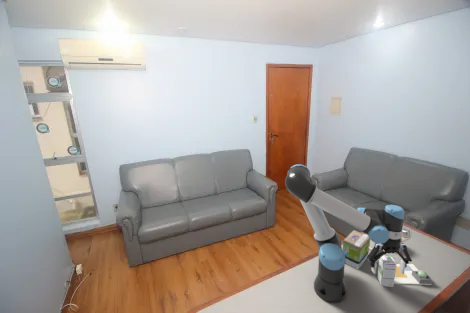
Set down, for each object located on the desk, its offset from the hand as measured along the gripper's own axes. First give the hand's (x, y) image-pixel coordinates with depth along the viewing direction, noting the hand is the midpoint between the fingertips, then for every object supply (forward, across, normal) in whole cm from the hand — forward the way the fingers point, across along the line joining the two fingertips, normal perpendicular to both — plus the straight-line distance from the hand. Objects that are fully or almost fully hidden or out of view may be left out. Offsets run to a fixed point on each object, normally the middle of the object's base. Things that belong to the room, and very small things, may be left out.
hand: (387, 272), depth 113 cm
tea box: (+7, -8, +17) cm, 20 cm away
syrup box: (+7, 0, 0) cm, 7 cm away
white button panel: (+7, +12, +6) cm, 15 cm away
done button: (+5, +18, +2) cm, 19 cm away
